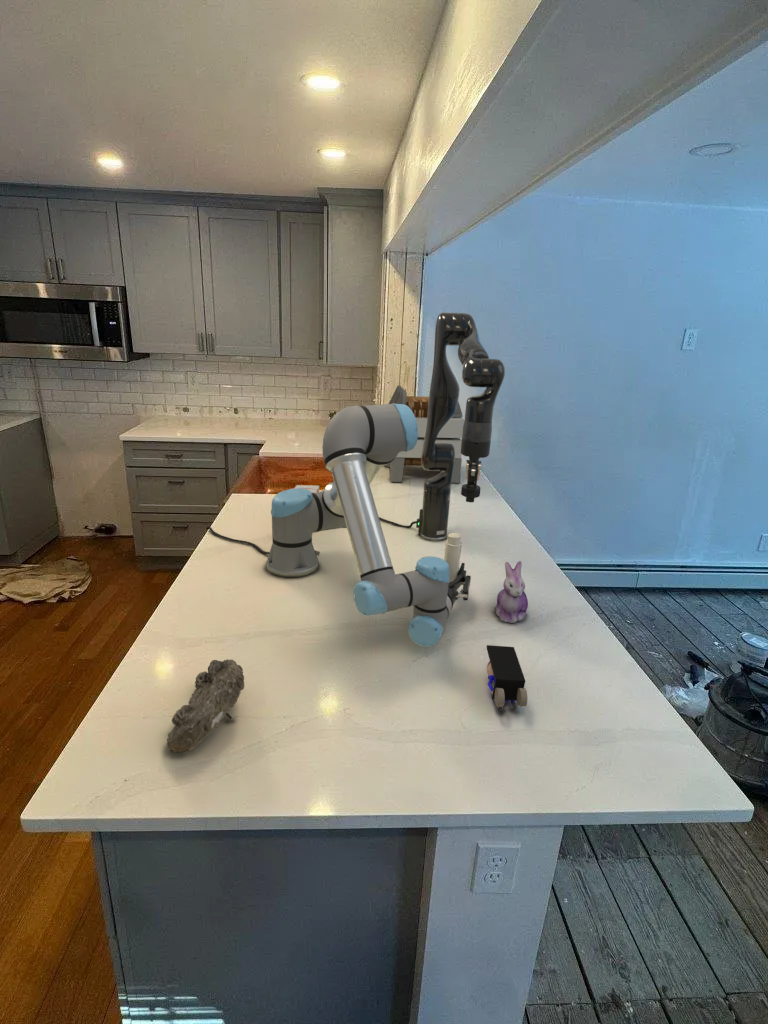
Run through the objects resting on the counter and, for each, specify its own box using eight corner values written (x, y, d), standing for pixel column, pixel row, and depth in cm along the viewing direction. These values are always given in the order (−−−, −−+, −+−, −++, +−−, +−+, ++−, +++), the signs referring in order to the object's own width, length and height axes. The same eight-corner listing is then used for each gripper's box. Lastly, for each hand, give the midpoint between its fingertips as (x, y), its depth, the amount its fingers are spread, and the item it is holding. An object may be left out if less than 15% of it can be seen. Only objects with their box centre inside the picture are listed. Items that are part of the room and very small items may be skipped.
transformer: (382, 463, 289) (386, 382, 275) (445, 464, 293) (451, 384, 279) (390, 482, 257) (394, 392, 243) (460, 483, 261) (468, 394, 247)
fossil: (192, 660, 117) (244, 628, 112) (224, 691, 120) (276, 661, 115) (142, 746, 98) (202, 712, 93) (182, 779, 101) (242, 748, 96)
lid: (457, 495, 153) (458, 486, 152) (465, 490, 157) (466, 482, 156) (474, 499, 151) (475, 491, 150) (482, 494, 155) (483, 486, 154)
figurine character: (526, 722, 112) (510, 670, 126) (532, 694, 109) (515, 643, 122) (492, 722, 112) (480, 669, 125) (498, 693, 109) (484, 642, 122)
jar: (459, 594, 159) (465, 535, 153) (450, 599, 156) (456, 539, 150) (447, 589, 162) (452, 531, 156) (438, 594, 159) (443, 535, 153)
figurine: (509, 627, 143) (516, 574, 138) (485, 609, 151) (491, 558, 146) (538, 620, 147) (546, 567, 142) (512, 602, 156) (519, 552, 151)
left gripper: (402, 610, 144) (423, 572, 165) (470, 623, 139) (483, 582, 161) (404, 583, 141) (425, 549, 163) (473, 596, 137) (486, 558, 158)
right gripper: (462, 430, 155) (457, 489, 161) (461, 442, 142) (455, 506, 148) (490, 432, 154) (483, 491, 160) (491, 444, 141) (484, 508, 147)
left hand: (454, 565), depth 162 cm, fingers closed on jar, 4 cm apart
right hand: (470, 498), depth 154 cm, fingers closed on lid, 5 cm apart
